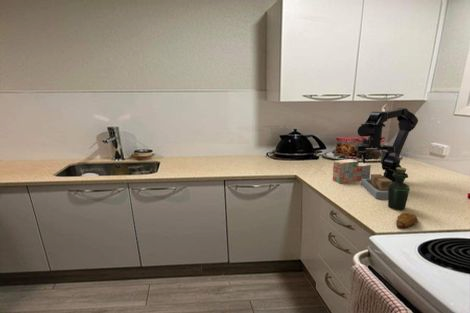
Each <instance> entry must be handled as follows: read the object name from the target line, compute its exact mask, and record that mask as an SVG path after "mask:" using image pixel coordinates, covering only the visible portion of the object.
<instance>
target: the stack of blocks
mask: <svg viewBox="0 0 470 313" xmlns="http://www.w3.org/2000/svg"><path fill="white" fill-rule="evenodd" d="M371 165H372V164H369V163H366V162H365V164H364V163H363V162H359V161H358V160H356V159H352V158H351V159H350V158H349V159H348V158H347V159H341V160H340V159H339V160H333V165H332V166H333V167H332V181H333V182H335V183H337V184H344V183H345V184H346V183H347V184H348V183H354V182H359V181H360V182H361V179H371V168H372V166H371Z"/></svg>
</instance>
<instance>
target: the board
mask: <svg viewBox="0 0 470 313" xmlns="http://www.w3.org/2000/svg"><path fill="white" fill-rule="evenodd" d="M370 179H371V180H370V184H371V185H372V186H373V187H375V188H376V189H377V190H379V191H388V185H389V184H390V183H392V182H393V181H391V180H389V179H388V178H386V177H384V176H383V175H382V174H375V173H374V174H371V173H370Z"/></svg>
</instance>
